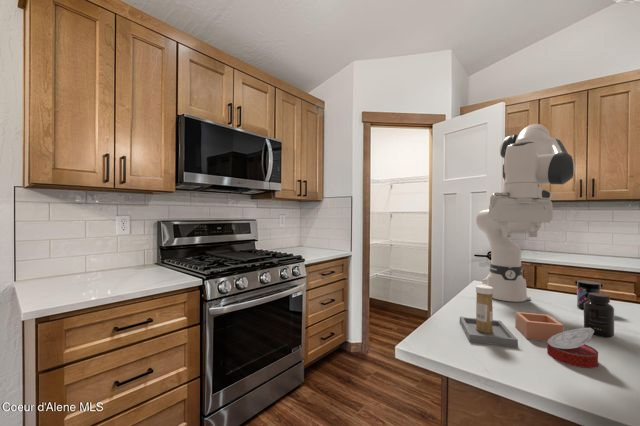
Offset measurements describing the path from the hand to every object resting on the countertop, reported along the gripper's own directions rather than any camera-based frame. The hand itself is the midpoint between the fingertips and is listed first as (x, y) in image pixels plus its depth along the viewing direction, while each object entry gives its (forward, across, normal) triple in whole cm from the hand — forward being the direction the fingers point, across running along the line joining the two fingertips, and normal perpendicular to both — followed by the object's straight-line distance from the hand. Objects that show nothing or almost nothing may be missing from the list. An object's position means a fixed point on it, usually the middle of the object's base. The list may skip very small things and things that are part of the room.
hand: (519, 237), depth 93 cm
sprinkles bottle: (+28, -13, -1) cm, 31 cm away
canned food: (+30, -2, -18) cm, 35 cm away
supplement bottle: (+29, +22, -6) cm, 37 cm away
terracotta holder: (+29, +2, -4) cm, 30 cm away
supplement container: (+29, +44, +15) cm, 55 cm away
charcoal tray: (+29, -13, -2) cm, 32 cm away
